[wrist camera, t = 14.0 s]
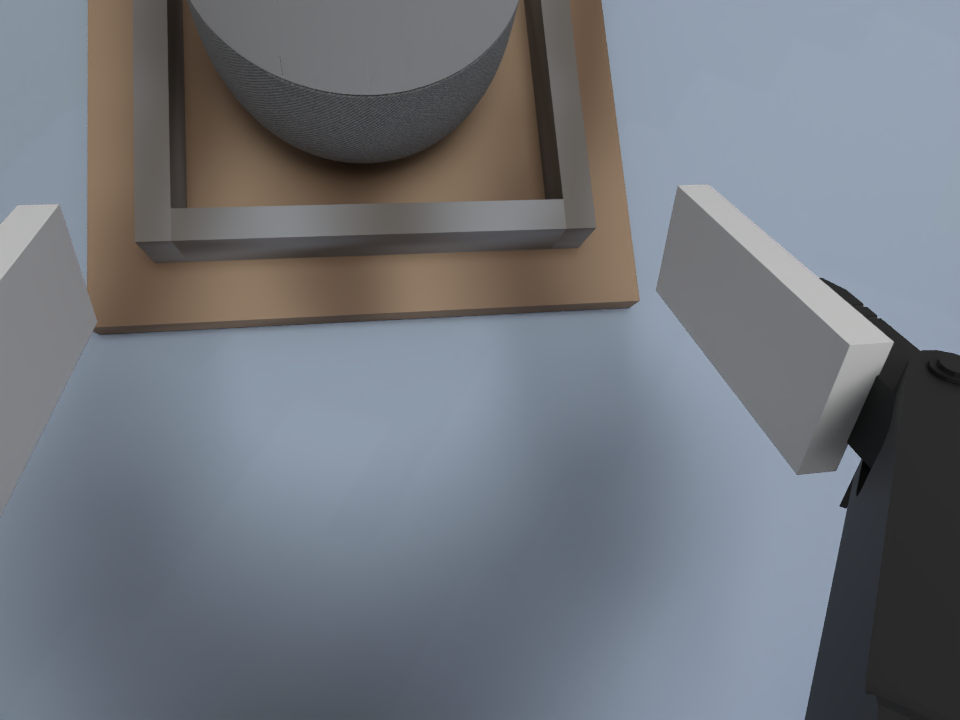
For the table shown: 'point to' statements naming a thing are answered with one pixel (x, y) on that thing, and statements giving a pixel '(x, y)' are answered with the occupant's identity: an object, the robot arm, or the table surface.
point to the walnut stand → (349, 191)
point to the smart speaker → (356, 68)
